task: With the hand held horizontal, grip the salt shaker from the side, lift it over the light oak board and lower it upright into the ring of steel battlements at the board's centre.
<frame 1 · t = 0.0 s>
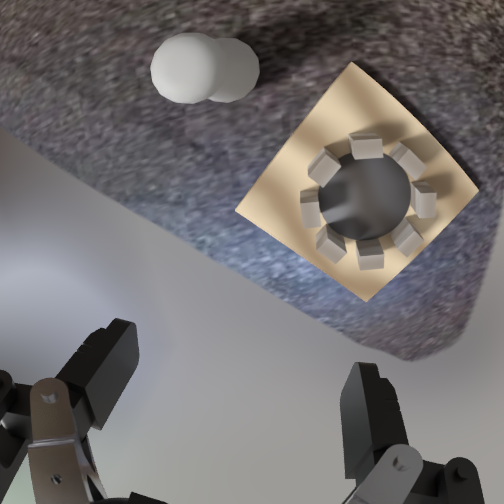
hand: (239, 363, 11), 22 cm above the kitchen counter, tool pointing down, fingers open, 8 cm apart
collar: (363, 193, 30), on the kitchen counter
salt shaker: (231, 70, 26), on the kitchen counter
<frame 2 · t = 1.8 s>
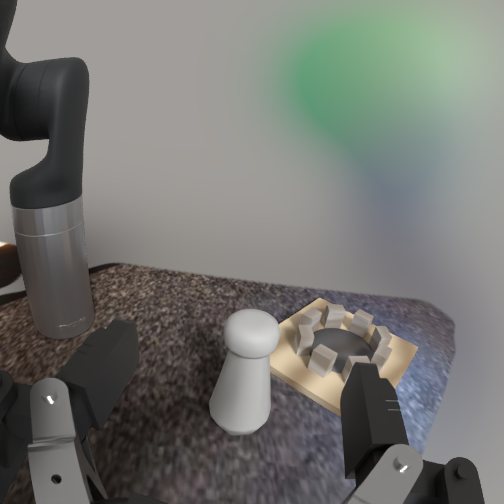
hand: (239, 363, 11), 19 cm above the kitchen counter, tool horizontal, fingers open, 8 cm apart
collar: (338, 355, 40), on the kitchen counter
salt shaker: (237, 421, 29), on the kitchen counter
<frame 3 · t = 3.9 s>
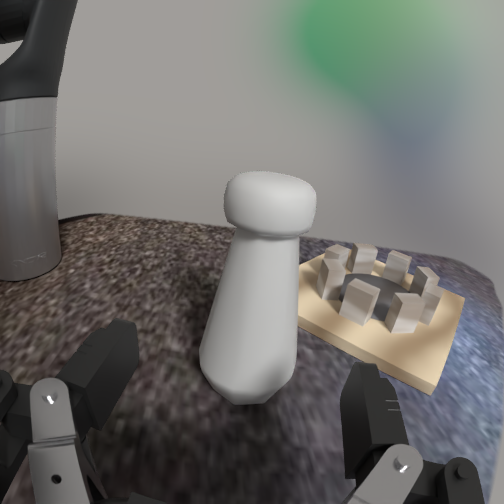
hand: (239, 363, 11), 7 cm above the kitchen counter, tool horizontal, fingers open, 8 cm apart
collar: (374, 304, 30), on the kitchen counter
salt shaker: (243, 384, 20), on the kitchen counter
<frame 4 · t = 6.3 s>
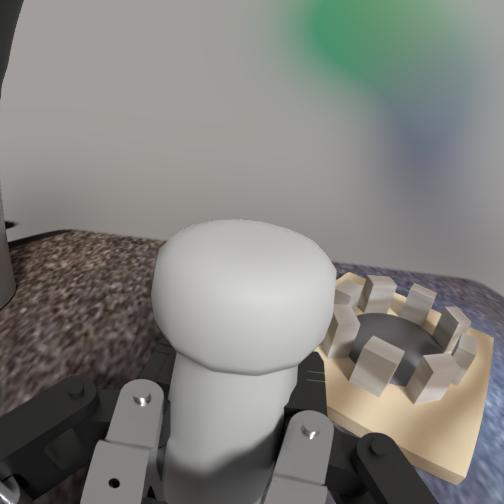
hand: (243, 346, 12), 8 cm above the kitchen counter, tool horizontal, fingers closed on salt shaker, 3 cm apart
collar: (391, 355, 23), on the kitchen counter
salt shaker: (218, 491, 12), on the kitchen counter, touching gripper
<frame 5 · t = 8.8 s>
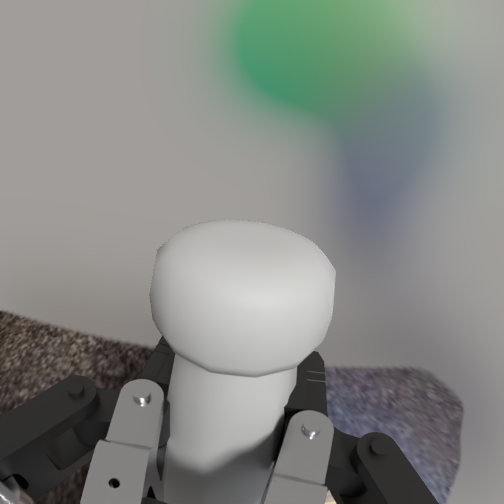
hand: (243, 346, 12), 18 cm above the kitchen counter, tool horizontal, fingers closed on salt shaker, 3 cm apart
salt shaker: (218, 491, 12), point 10 cm above the kitchen counter, touching gripper
when the fingers open (9 cm above the kitchen counter, at t = 11.5 s): salt shaker stays where it is, resting on collar.
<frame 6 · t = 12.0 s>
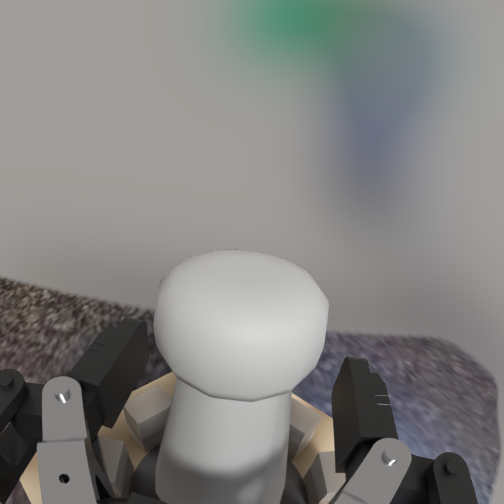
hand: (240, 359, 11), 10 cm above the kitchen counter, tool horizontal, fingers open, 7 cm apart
collar: (218, 502, 13), on the kitchen counter
salt shaker: (217, 498, 13), point 1 cm above the kitchen counter, touching collar
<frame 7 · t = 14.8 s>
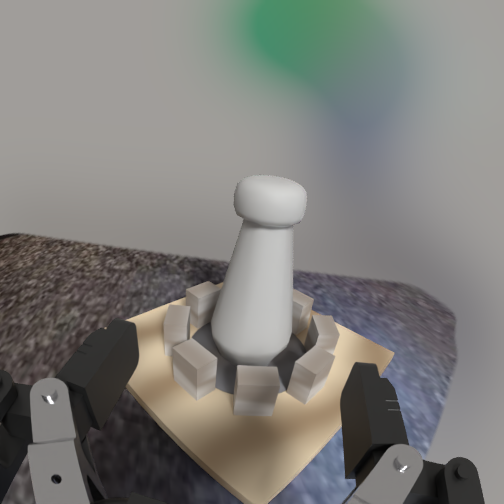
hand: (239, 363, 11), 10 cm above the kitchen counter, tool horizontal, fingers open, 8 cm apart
collar: (247, 361, 24), on the kitchen counter
salt shaker: (247, 353, 24), point 1 cm above the kitchen counter, touching collar
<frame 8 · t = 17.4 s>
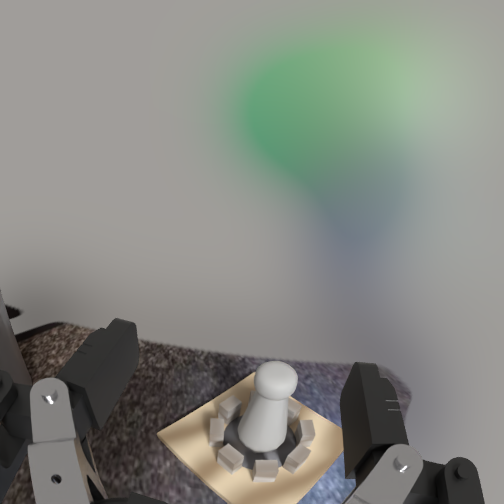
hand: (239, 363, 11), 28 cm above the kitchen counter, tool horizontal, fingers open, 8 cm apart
collar: (258, 444, 35), on the kitchen counter
salt shaker: (259, 441, 35), point 1 cm above the kitchen counter, touching collar
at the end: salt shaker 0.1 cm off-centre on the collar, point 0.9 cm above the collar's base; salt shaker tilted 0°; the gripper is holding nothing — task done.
